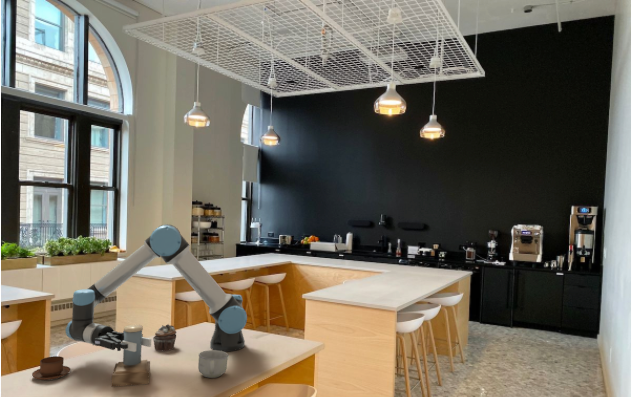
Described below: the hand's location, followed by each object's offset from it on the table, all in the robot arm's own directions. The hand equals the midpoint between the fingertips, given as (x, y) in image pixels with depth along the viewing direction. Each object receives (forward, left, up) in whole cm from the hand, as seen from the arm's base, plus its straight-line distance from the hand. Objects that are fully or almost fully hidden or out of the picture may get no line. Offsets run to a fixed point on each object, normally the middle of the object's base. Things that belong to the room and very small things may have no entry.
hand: (143, 345), depth 163 cm
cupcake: (-7, -38, -13) cm, 41 cm away
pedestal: (+4, -4, -13) cm, 14 cm away
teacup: (-24, 0, -13) cm, 28 cm away
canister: (+4, -4, -7) cm, 9 cm away
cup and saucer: (+31, -13, -13) cm, 36 cm away
